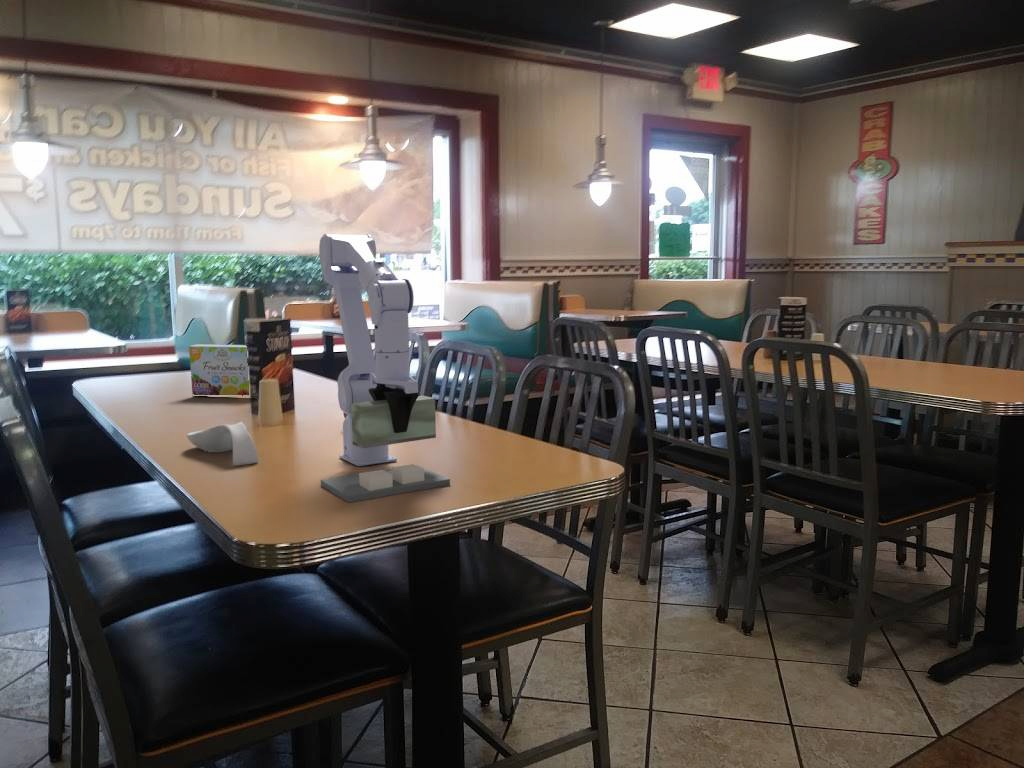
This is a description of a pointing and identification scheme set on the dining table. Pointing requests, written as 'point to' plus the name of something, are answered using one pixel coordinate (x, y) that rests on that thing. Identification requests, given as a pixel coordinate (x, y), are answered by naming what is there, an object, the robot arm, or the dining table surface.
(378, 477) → the chalk tile
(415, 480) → the chalk tile
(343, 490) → the slate board
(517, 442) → the dining table surface
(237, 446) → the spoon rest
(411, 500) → the dining table surface
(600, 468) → the dining table surface
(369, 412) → the block
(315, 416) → the dining table surface
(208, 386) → the snack box
